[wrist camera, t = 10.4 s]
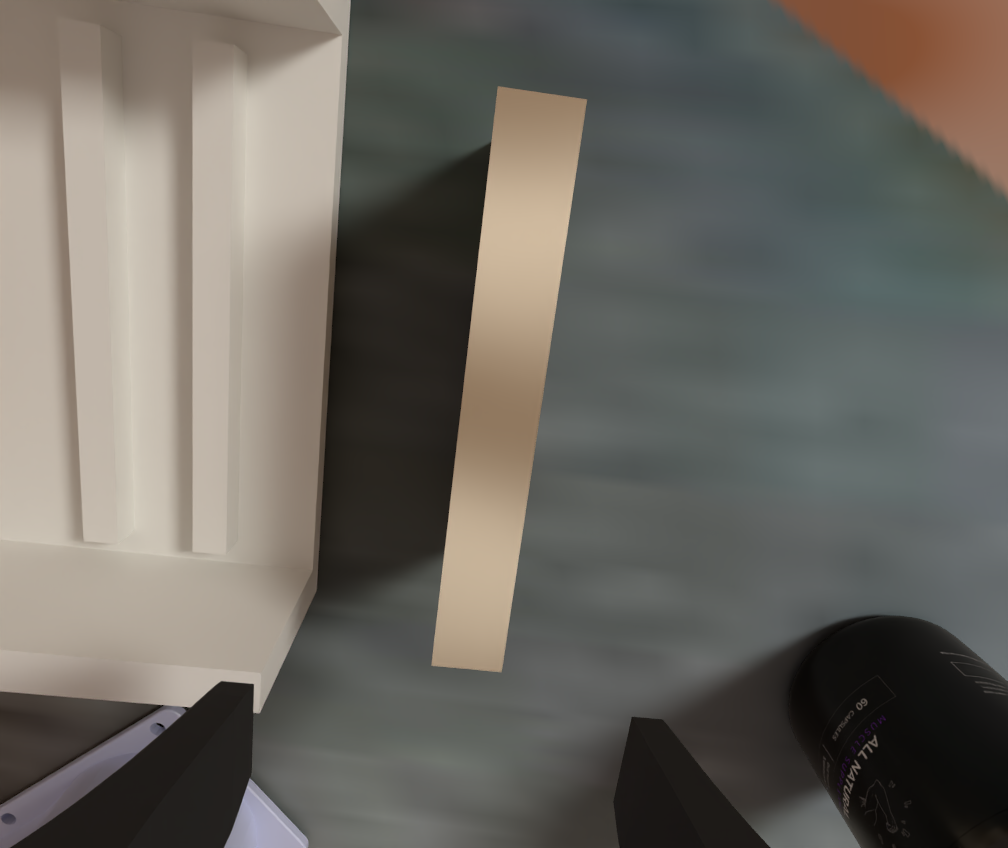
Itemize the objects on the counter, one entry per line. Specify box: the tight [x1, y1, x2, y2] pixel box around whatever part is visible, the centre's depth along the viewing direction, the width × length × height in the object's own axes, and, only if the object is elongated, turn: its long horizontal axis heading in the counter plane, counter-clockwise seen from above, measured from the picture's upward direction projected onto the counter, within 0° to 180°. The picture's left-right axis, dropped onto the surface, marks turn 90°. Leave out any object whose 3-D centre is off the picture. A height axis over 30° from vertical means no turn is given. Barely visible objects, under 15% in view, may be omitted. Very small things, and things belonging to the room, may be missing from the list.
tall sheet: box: [432, 87, 587, 672], centre depth 17 cm, size 12×2×8 cm, turn 173°
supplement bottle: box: [788, 616, 1008, 848], centre depth 19 cm, size 7×7×12 cm
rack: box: [0, 0, 351, 713], centre depth 17 cm, size 18×14×6 cm
